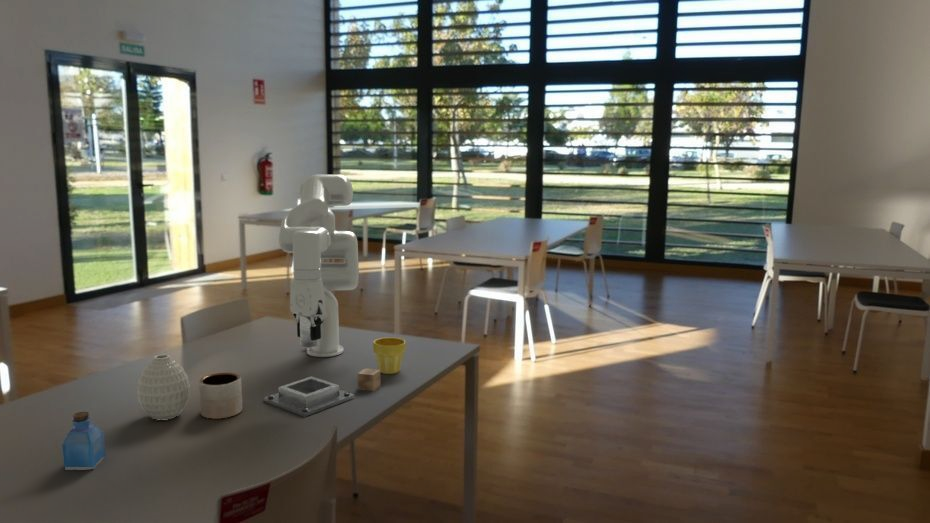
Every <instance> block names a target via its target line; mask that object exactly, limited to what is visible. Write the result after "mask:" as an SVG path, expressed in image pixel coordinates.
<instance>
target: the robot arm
mask: <svg viewBox="0 0 930 523" xmlns="http://www.w3.org/2000/svg"><path fill="white" fill-rule="evenodd" d="M298 188H299V195H300V203H299V204H297V205H296V206H295V207H293V208H291V209H290V210H288V212H286V214H285V215H284V216H283V218H282V221H281V223H280V228H279V234H278V244H279V247H280V250H282V251H283V252H285V253H291V254H292V260H293V261H292V264H293V278H292V280H291V284H290V296H289V297H290V300H289V306H290V307H289V310H290V312H291V313H292V315H293V317H294V319H295V320H294V321H295V323H296V329H297V330H296V331H297V337H298V338H300V316H299V312H302V315H303V316H307V317H310V318H311V323H312V326H311V340H312V341H314V340H317V339H318V345H317V346H314V347H307V348H306V354H307V355H308V356H311V357H316V358H329V357H336V356H339V355H341V354H343V353H344V350H345V349H344V347H343V346H342V345H341V344H340V333H339V331H340V330H339V328H340V327H339V326H340V325H339V301H338V299H337V298H336V297H335V295H334V294H333V293H332V291H353V290H355V289H356V288H357V287H358V285H359V275H360V274H359V247H358V246H359V245H358V243H359V242H358V238H357V235H356V234H355V233H354V232H353V231H349V230H336V215H335V213H334V212H333V211H332V209H331V208H330V207H334V206H335V207H337V206H338V207H344V206H345V207H346V206H350V205H351V203H352V202H353V198H354V190H353V185H352V182H351V181H350V179H349V178H348V177H347V176H346V175H345V174H344V175H343V174H312V175H310V176H307V177H306V178H305V180H304V181H303V182H301V183H300V185H299V187H298ZM328 259H331V260H333V259H334V260H339V259H342V260H344V262H322V260H328ZM317 312H318V314H317V315H316V313H317ZM315 317H317V319H316V321H315Z"/></svg>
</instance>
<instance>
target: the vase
mask: <svg viewBox="0 0 930 523" xmlns="http://www.w3.org/2000/svg"><path fill="white" fill-rule="evenodd" d="M136 390H137V391H136V392H137V399H138V402H139V404H140V407H141V408H142V410H143V411H144V412H145V413H146V415H147V416H149V418H151V419H153V420H154V419H160V420H162V419H170V418H173V417H176V416H177V417H178V416H179V415H180V414H181V413H182V412H183V411H184V409H185V407H186V406H187V404H188V401H189V398H190V395H191V383H190V378H189V376H188V374H187V372H186V370H185V369H184V367H183V366H182V365H181V364H179V363H178V362H177V361H175V359H173V358H172V357H171V355H169V354H166V353H165V354H164V353H163V354H157V355H155V356H153V357H152V360H151V361H150V362H149V363H148V364H147V366H145V367H144V369H143V370H142V372H141V374H140V376H139V378H138V381H137V388H136ZM177 417H176V418H177Z"/></svg>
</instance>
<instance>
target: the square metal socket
mask: <svg viewBox="0 0 930 523" xmlns="http://www.w3.org/2000/svg"><path fill="white" fill-rule="evenodd" d="M262 398H263V400H262V401H263V402H264V401H266V402H265V403H267V402H268V403H267V404H269V403H271V404H270V405H272V404H273V405H272V406H275V407H277V408H280V409H283V410H285V411H288V412H291V413H294V414H295V415H299V416H301V417H304V418H306V417H308V416H311V415H314V414H317V413H319V412H321V411H325V410H328V409H329V408H331V407H335V406H337V405H339V404H342V403H345V402H347V401H350V400H353V399H355V394H353V393H352V392H351V393H350V392H349V391H344V390H342V389H341V390H340V385H339V384H336V383H334V382H330V381H327V380H325V379H321V378H318V377H315V376H312V375H311V376H308V377H305V378H302V379H299V380H296V381H293V382H290V383H287V384H285V385H281V386H279V387H278V392H277V393H274V394H269V395H267V396H265V397H262Z"/></svg>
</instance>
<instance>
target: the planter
mask: <svg viewBox="0 0 930 523" xmlns="http://www.w3.org/2000/svg"><path fill="white" fill-rule="evenodd" d="M198 388H199V389H198V392H199V412H200V415H201V416H202V417H204V418H205V417H206V419H208V418H212V419H211V420H222V419H221V418H225V419H229V418H228V417H230V418H232V417H231V416H233V417H235V416H237V415H238V414H240V413H241V412H242V411H243V407H244V406H243V392H242V390H243V389H242V376H241V375H240V374H238V373H235V372H217V373H216V372H215V373H210V374H207V375H204V376H202V377H201V378H200V379H199V380H198Z"/></svg>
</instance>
